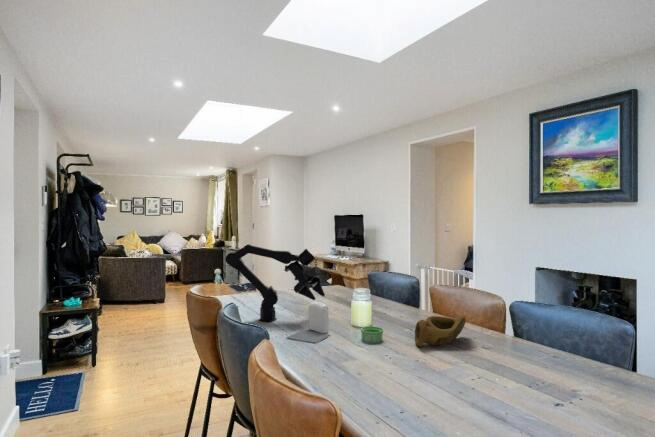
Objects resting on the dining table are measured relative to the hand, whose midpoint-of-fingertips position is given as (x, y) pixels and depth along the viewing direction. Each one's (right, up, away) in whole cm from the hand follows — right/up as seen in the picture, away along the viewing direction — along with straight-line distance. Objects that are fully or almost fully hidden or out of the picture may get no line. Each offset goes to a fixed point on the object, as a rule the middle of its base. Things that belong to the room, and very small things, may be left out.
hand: (319, 297), depth 184 cm
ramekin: (+21, -12, -26) cm, 36 cm away
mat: (-4, -11, -23) cm, 26 cm away
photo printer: (0, -12, -13) cm, 18 cm away
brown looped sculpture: (+49, -12, -29) cm, 58 cm away
